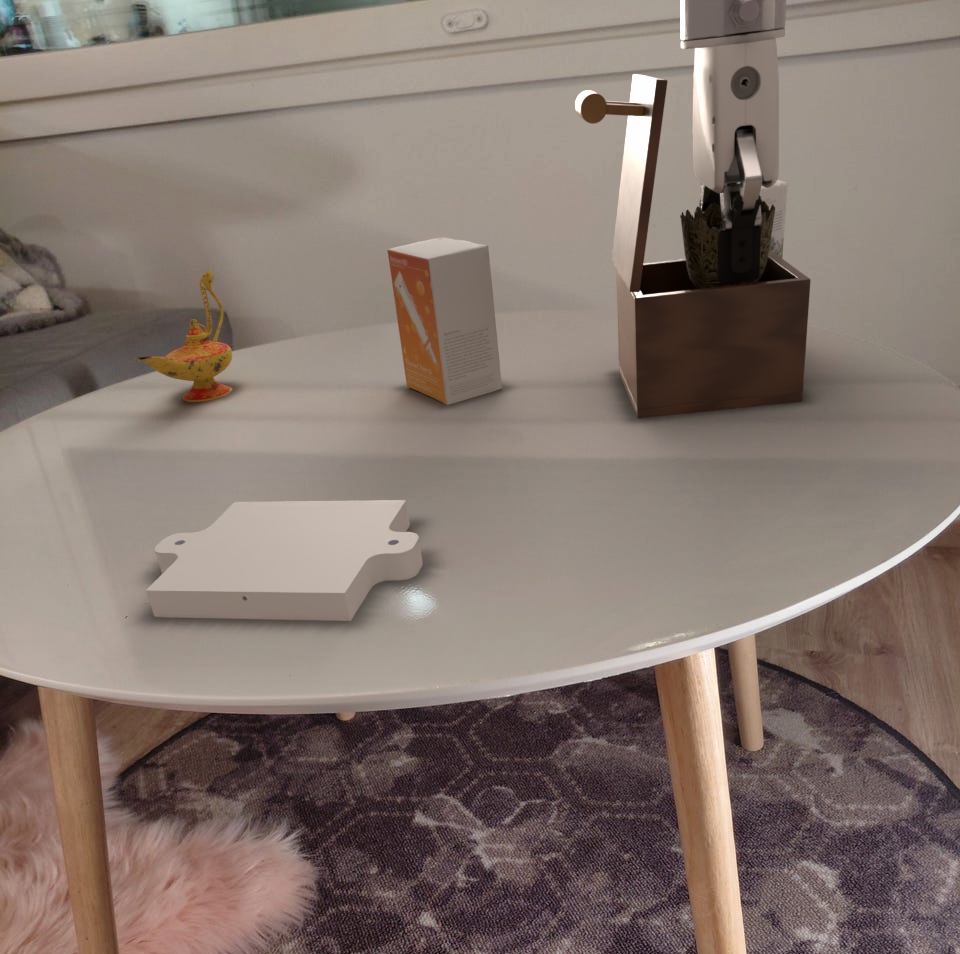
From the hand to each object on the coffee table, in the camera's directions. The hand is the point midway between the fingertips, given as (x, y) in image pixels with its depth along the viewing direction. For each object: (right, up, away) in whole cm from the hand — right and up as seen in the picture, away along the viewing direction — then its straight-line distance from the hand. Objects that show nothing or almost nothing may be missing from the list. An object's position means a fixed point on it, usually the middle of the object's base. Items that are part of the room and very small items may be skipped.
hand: (727, 269), depth 81 cm
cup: (0, -3, +2) cm, 4 cm away
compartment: (-1, -8, +5) cm, 10 cm away
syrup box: (+5, -1, +16) cm, 17 cm away
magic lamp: (-49, -6, +19) cm, 53 cm away
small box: (-23, -7, +13) cm, 27 cm away
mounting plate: (-33, -26, -17) cm, 45 cm away
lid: (-8, +6, -3) cm, 10 cm away
